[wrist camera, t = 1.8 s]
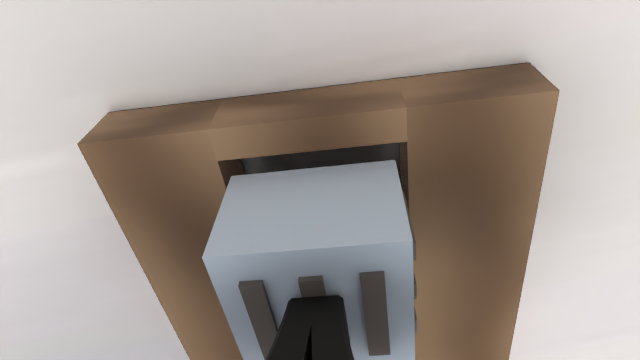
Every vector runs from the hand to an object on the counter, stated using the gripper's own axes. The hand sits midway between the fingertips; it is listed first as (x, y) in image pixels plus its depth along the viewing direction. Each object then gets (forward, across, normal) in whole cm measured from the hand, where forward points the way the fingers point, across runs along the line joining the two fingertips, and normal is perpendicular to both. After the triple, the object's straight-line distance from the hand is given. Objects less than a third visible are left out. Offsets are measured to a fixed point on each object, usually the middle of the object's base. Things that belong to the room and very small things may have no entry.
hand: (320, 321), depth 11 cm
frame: (+6, 0, +7) cm, 9 cm away
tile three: (+4, 0, 0) cm, 4 cm away
